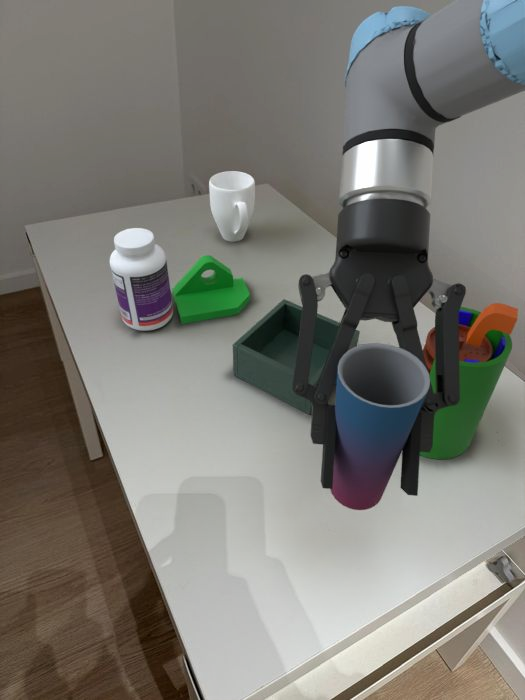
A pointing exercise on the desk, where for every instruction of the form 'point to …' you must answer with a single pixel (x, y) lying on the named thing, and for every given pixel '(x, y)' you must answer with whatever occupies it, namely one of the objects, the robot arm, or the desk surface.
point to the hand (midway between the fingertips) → (367, 487)
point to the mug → (232, 203)
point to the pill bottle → (141, 280)
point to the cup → (373, 419)
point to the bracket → (209, 292)
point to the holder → (283, 352)
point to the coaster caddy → (471, 375)
